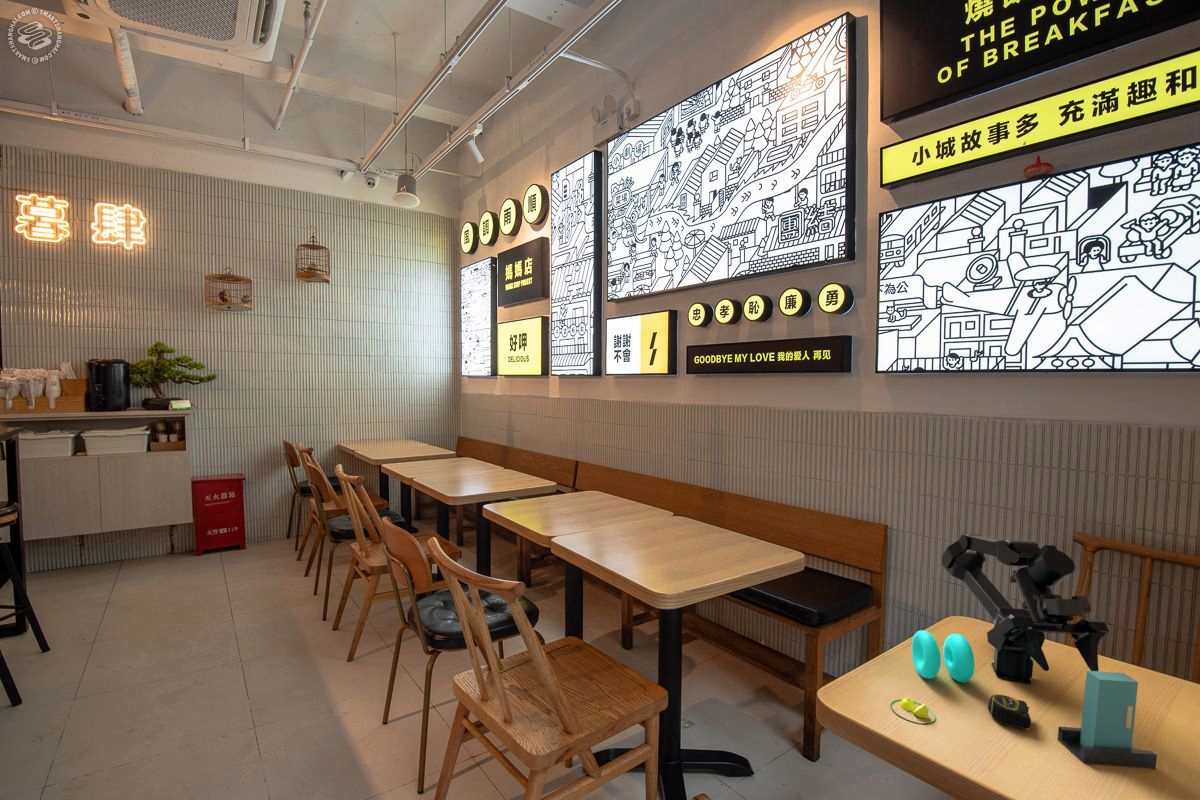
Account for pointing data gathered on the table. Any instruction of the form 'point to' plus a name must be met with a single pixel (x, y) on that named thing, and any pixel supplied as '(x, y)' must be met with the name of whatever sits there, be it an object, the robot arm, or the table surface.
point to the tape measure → (1009, 711)
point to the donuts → (954, 654)
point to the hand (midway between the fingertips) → (1071, 672)
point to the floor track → (1105, 752)
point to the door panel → (1108, 710)
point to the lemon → (910, 706)
